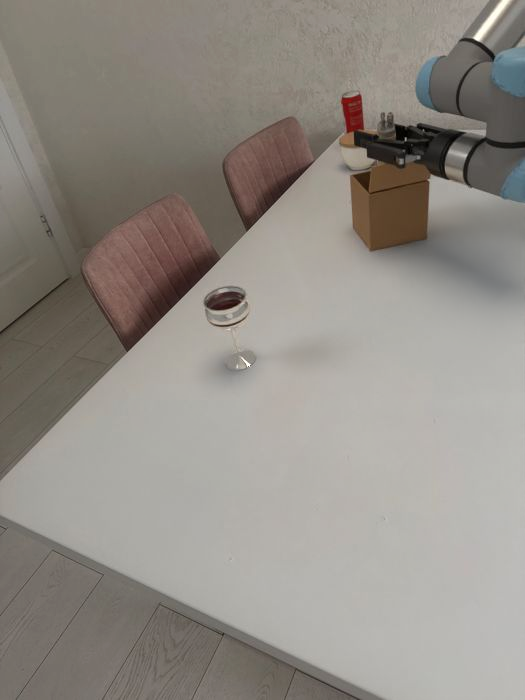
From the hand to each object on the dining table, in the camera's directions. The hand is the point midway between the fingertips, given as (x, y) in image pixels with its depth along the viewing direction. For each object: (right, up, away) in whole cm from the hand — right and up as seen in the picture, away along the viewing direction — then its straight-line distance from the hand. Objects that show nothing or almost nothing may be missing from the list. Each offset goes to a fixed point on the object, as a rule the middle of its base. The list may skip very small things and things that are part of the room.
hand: (368, 133), depth 98 cm
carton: (+6, -18, +7) cm, 20 cm away
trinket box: (+6, +8, +39) cm, 40 cm away
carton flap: (+4, -10, -7) cm, 13 cm away
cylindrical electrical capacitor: (+3, -7, 0) cm, 8 cm away
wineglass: (-24, -44, -17) cm, 53 cm away
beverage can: (+7, +18, +51) cm, 54 cm away
